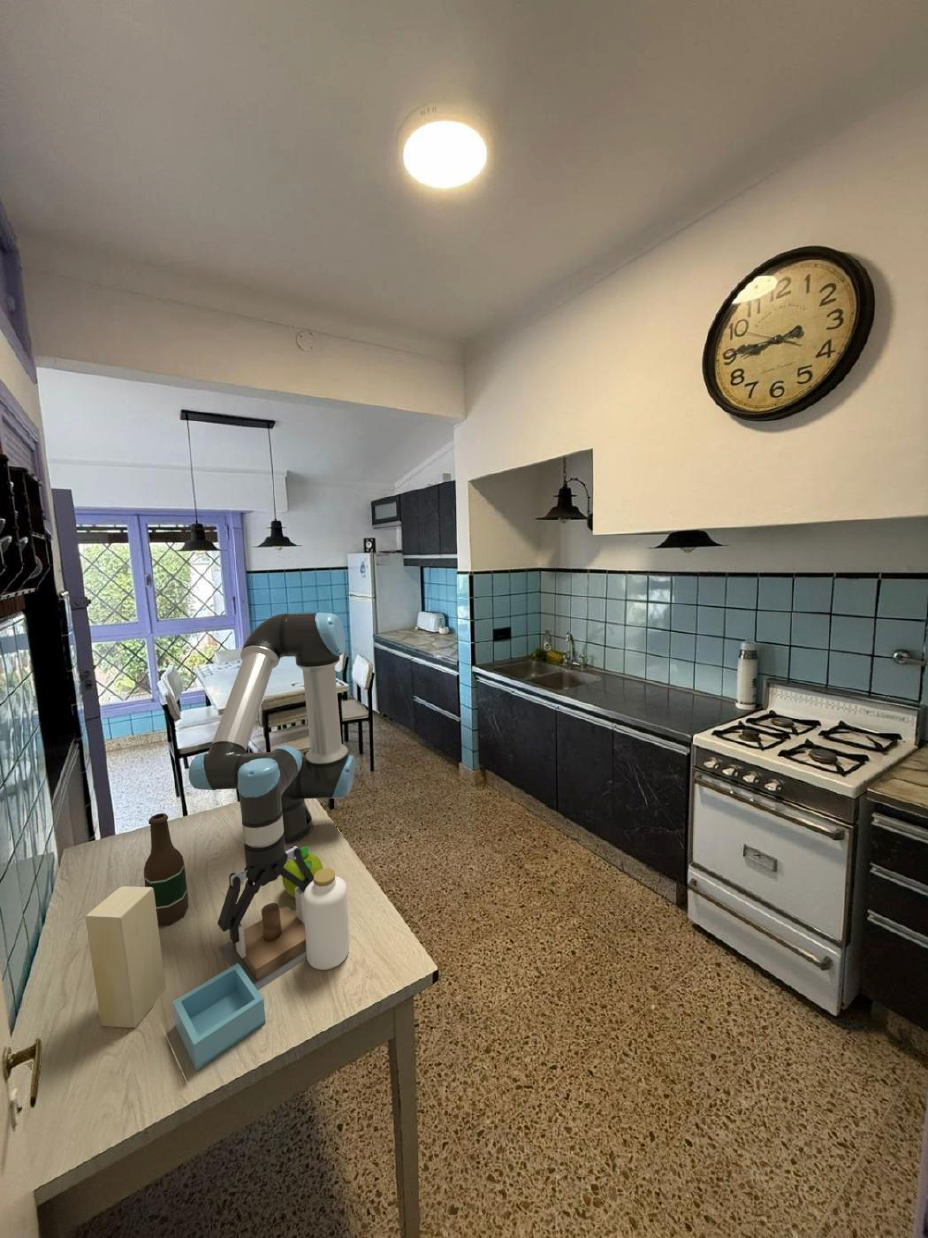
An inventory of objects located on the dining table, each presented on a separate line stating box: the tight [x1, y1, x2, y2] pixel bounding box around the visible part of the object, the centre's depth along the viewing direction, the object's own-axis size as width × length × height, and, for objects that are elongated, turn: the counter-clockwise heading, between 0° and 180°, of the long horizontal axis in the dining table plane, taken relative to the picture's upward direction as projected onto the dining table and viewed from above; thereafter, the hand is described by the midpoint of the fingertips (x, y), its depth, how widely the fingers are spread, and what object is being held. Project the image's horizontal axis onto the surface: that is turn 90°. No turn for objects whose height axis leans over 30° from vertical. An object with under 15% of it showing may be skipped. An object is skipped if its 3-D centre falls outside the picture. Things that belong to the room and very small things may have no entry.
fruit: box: [281, 846, 324, 898], centre depth 118 cm, size 9×9×10 cm
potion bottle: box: [304, 867, 350, 971], centre depth 98 cm, size 8×8×18 cm
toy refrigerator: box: [85, 885, 167, 1029], centre depth 88 cm, size 8×7×21 cm
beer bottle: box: [143, 812, 190, 928], centre depth 111 cm, size 8×8×24 cm
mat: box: [218, 907, 307, 991], centre depth 102 cm, size 16×16×1 cm
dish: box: [172, 963, 267, 1072], centre depth 85 cm, size 11×11×5 cm
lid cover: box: [232, 902, 306, 981], centre depth 102 cm, size 12×12×8 cm
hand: (272, 935), depth 102 cm, fingers closed on lid cover, 12 cm apart
